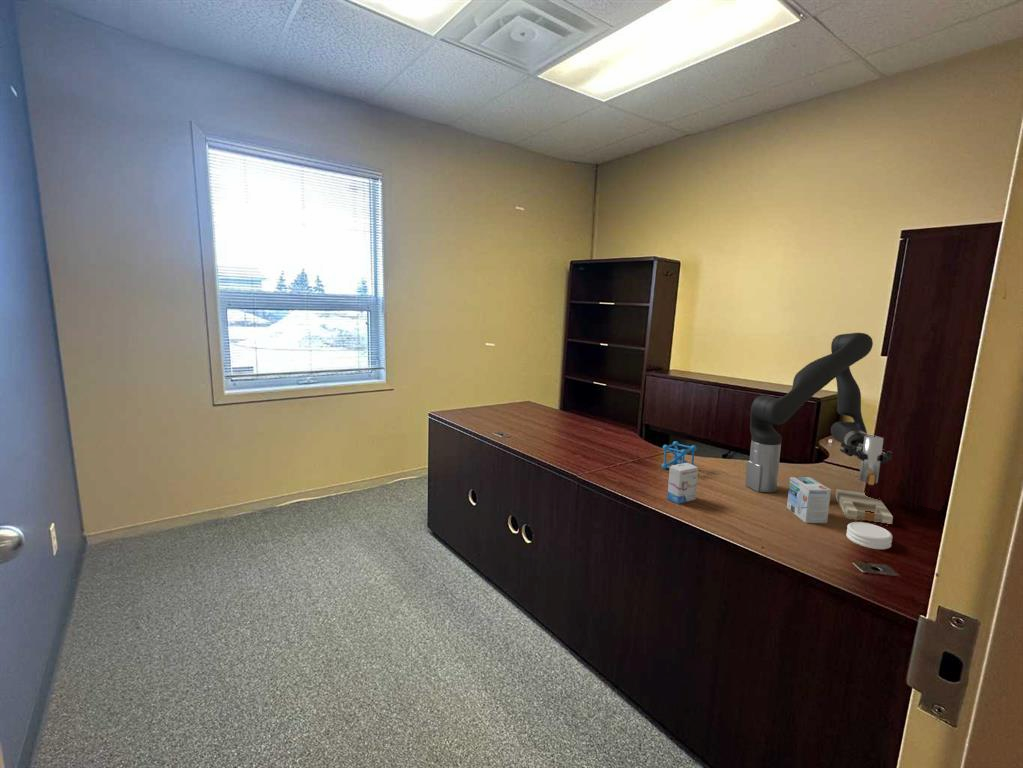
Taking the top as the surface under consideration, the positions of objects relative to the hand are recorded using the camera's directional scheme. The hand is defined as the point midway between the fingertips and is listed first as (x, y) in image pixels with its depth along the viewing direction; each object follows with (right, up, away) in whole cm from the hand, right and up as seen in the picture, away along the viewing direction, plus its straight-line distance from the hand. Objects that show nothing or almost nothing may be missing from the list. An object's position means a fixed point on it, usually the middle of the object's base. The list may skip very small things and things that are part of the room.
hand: (873, 458), depth 140 cm
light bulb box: (-18, -19, +4) cm, 26 cm away
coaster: (-10, -21, -11) cm, 26 cm away
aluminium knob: (+1, -7, +4) cm, 8 cm away
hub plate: (+2, -18, +8) cm, 20 cm away
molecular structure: (-43, -12, +46) cm, 64 cm away
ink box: (-52, -17, +16) cm, 57 cm away
